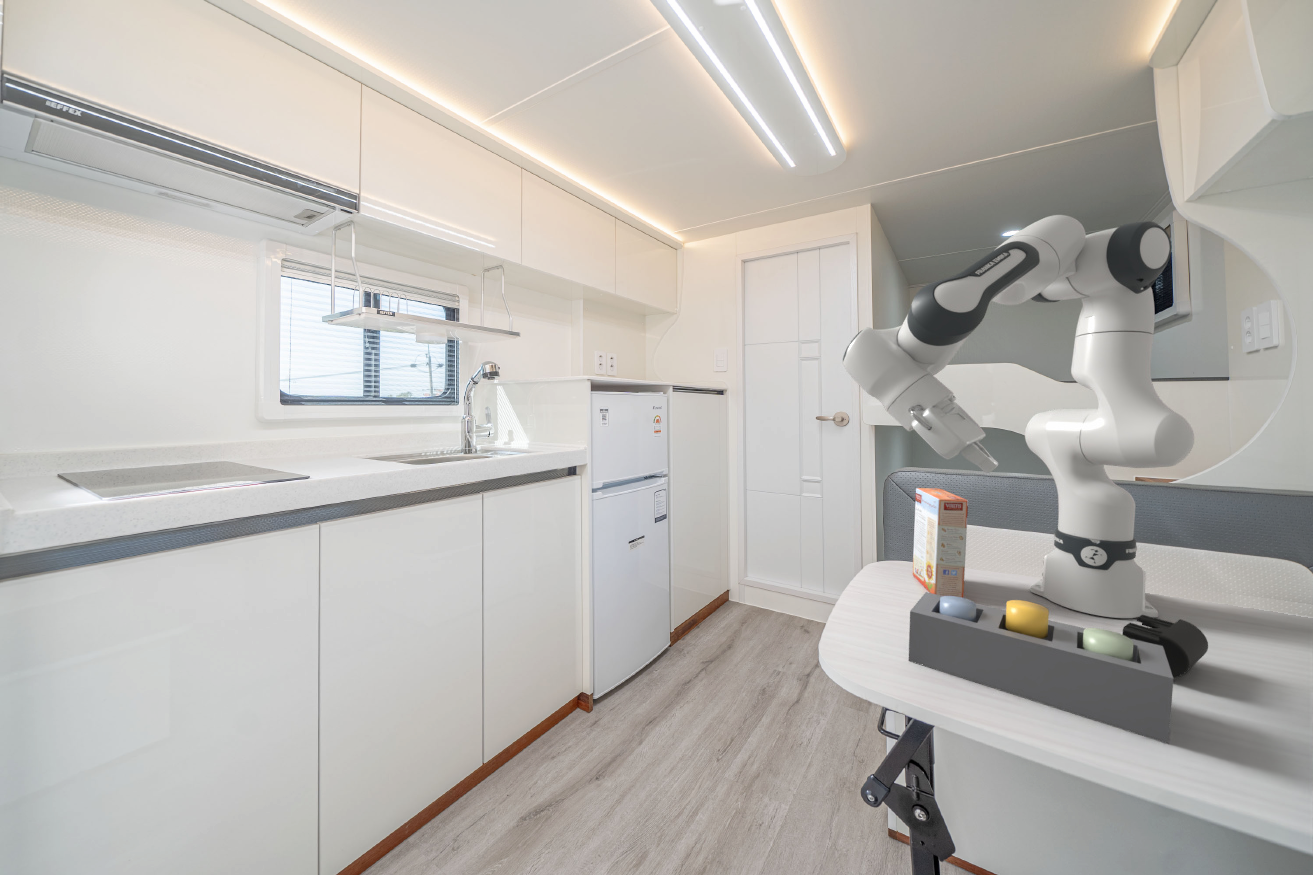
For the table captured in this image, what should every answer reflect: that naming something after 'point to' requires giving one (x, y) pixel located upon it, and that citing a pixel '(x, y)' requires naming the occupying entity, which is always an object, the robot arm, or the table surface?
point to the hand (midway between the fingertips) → (993, 469)
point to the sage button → (1108, 643)
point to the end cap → (1171, 641)
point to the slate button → (958, 608)
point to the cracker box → (940, 541)
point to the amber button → (1027, 618)
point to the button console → (1047, 667)
